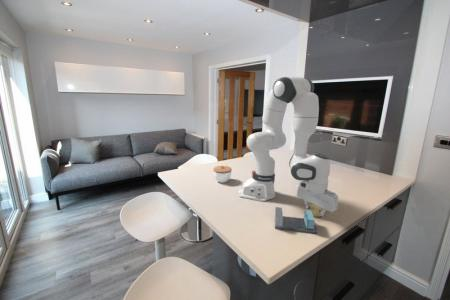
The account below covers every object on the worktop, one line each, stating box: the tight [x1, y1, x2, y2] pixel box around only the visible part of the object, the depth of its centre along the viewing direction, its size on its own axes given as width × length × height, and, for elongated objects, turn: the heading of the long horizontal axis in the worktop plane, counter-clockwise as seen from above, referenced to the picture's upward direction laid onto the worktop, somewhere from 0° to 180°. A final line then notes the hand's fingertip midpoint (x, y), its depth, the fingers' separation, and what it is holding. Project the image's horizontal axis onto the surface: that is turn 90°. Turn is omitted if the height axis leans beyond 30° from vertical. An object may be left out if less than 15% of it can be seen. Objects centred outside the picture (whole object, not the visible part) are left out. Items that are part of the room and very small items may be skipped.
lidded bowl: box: [213, 165, 233, 184], centre depth 152 cm, size 13×13×11 cm
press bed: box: [274, 206, 318, 235], centre depth 101 cm, size 18×9×6 cm, turn 79°
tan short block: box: [308, 203, 322, 218], centre depth 111 cm, size 5×4×4 cm
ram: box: [303, 209, 316, 229], centre depth 100 cm, size 3×8×4 cm, turn 169°
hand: (314, 211), depth 111 cm, fingers closed on tan short block, 6 cm apart
